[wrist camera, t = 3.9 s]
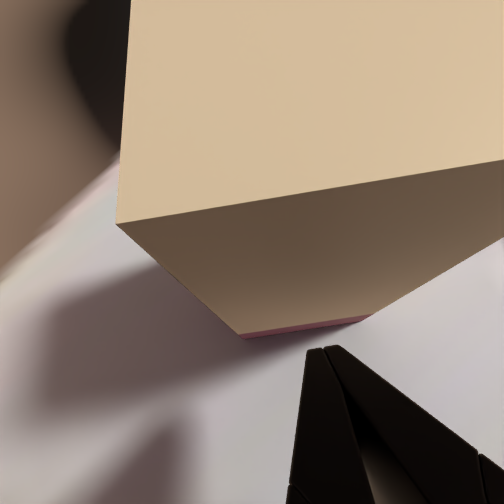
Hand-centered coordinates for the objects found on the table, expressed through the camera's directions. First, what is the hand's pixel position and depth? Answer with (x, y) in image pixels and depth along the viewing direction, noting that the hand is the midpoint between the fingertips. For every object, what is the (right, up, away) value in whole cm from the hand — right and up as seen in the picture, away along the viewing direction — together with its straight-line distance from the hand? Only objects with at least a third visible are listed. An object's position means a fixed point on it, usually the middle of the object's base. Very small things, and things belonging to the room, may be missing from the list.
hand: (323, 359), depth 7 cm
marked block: (0, +2, +8) cm, 8 cm away
